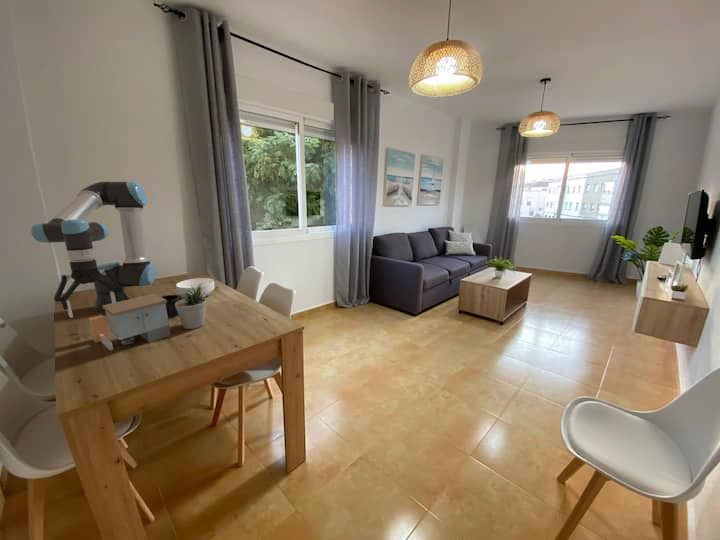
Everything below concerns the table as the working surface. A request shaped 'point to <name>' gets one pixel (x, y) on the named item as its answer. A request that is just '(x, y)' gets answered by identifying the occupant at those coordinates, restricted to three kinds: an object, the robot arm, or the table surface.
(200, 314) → the potted plant
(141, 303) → the cabinet
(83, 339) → the table surface
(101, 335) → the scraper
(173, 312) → the mug
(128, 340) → the token
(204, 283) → the bowl
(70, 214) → the robot arm
